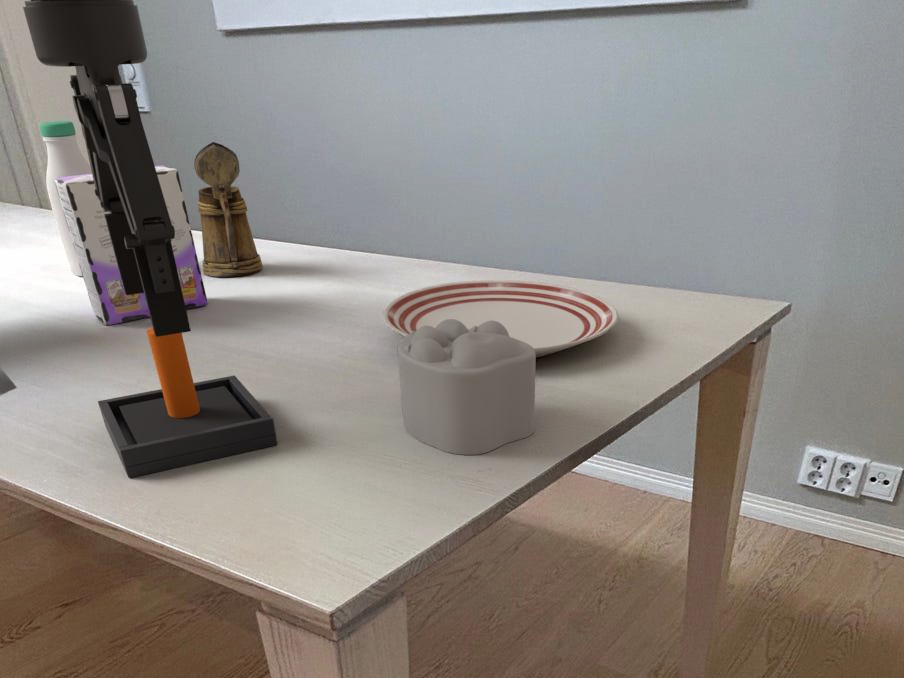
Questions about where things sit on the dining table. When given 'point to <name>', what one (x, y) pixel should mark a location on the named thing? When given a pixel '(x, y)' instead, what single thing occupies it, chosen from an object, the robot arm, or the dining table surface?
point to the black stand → (179, 398)
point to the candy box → (99, 253)
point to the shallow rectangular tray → (191, 444)
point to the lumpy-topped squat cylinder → (466, 386)
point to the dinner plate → (508, 311)
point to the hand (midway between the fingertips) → (156, 311)
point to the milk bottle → (63, 175)
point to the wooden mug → (224, 216)
